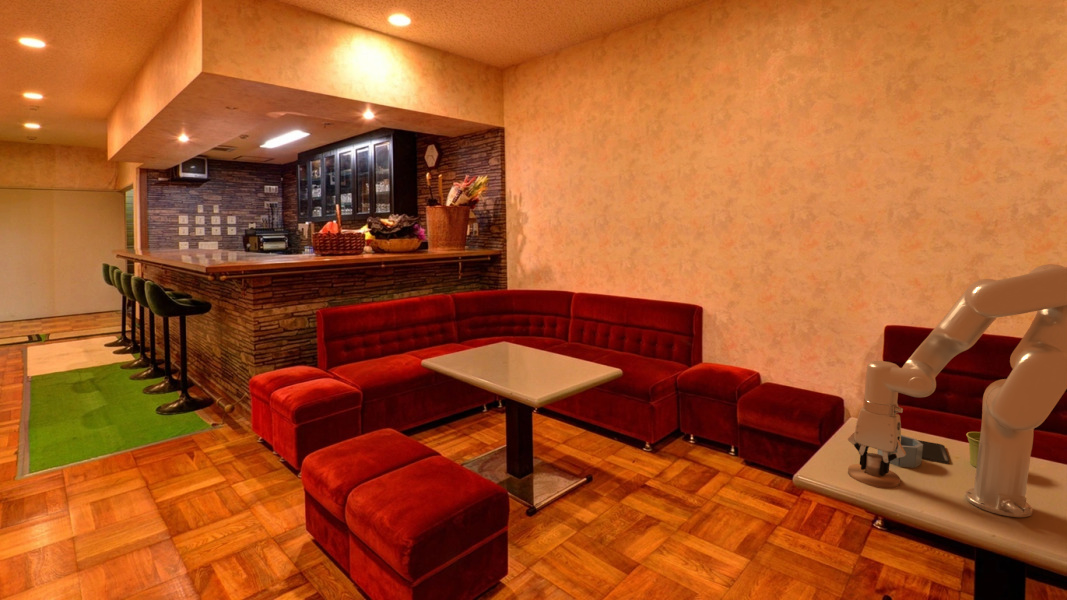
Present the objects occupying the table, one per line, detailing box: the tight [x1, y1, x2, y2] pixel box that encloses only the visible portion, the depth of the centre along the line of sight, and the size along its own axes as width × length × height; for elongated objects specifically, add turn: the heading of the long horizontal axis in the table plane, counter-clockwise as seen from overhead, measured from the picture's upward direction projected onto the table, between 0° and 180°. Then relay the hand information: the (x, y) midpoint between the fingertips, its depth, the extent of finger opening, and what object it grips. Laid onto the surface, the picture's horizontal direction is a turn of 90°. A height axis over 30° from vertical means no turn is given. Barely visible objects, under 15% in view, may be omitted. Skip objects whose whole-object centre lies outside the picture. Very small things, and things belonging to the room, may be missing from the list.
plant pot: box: [965, 431, 981, 468], centre depth 153 cm, size 9×9×9 cm
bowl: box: [876, 434, 923, 469], centre depth 158 cm, size 10×10×6 cm
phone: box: [917, 439, 950, 465], centre depth 163 cm, size 8×1×15 cm
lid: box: [847, 452, 901, 489], centre depth 146 cm, size 12×12×6 cm
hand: (873, 470), depth 147 cm, fingers closed on lid, 4 cm apart
